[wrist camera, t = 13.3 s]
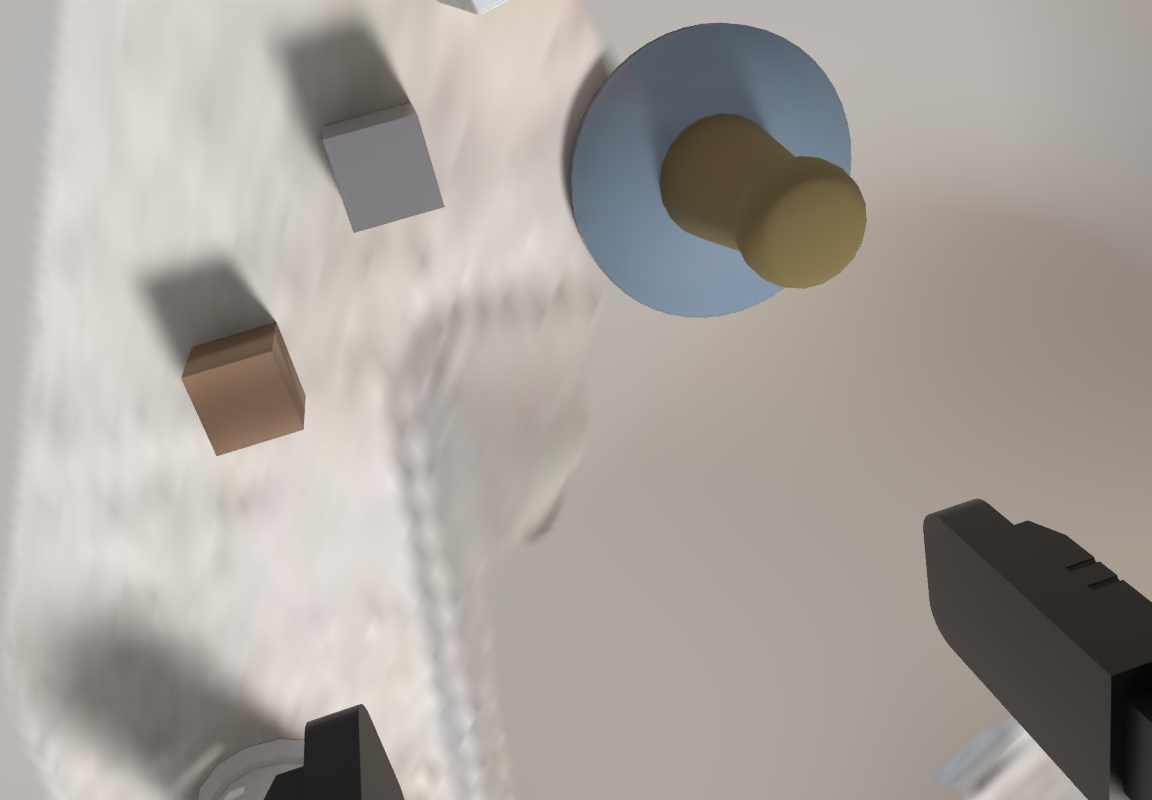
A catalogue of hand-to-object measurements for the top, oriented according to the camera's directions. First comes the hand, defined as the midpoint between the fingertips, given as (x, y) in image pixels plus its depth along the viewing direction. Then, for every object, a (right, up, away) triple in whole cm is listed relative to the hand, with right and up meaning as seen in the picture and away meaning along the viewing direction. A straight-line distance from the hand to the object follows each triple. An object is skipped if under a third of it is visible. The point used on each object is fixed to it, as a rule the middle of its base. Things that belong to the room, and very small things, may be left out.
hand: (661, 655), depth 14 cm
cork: (+6, +14, +35) cm, 38 cm away
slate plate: (+5, +14, +35) cm, 38 cm away
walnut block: (-17, +5, +34) cm, 38 cm away
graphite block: (-10, +14, +32) cm, 36 cm away
